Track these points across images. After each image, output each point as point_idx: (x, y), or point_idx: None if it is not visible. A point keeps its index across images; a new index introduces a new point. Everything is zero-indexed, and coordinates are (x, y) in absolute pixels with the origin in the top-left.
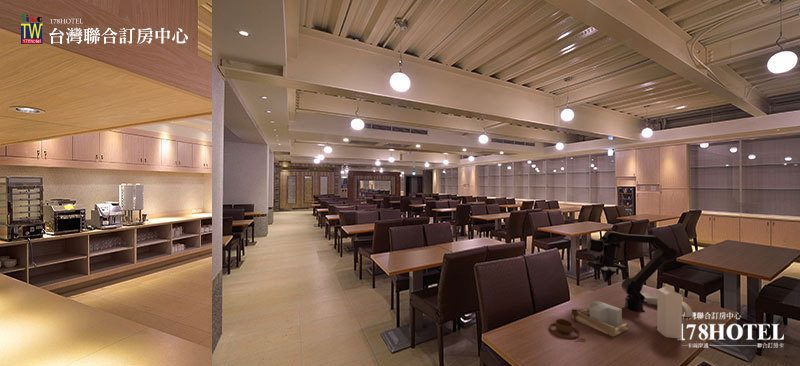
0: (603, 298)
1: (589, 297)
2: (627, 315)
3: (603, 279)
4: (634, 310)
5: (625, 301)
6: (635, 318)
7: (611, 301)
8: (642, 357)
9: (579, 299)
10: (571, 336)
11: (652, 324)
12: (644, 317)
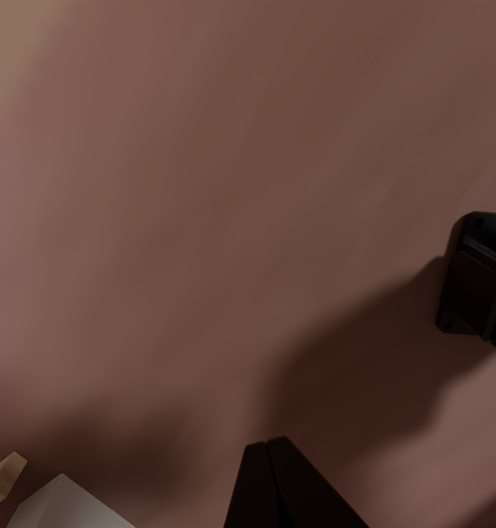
0: (339, 23)
1: (160, 24)
2: (335, 424)
3: (235, 486)
4: (466, 332)
5: (475, 276)
6: (365, 459)
7: (386, 116)
8: None
9: (8, 133)
10: None
11: (422, 517)
12: (452, 430)
